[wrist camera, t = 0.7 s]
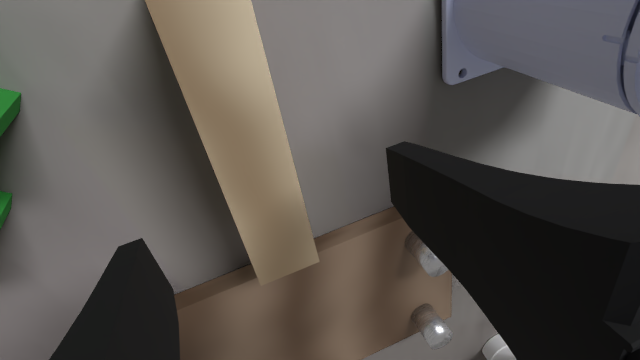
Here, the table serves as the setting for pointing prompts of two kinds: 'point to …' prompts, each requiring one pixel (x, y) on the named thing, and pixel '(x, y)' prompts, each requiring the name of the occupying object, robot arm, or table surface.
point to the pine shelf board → (239, 126)
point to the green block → (3, 109)
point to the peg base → (324, 301)
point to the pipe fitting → (497, 349)
